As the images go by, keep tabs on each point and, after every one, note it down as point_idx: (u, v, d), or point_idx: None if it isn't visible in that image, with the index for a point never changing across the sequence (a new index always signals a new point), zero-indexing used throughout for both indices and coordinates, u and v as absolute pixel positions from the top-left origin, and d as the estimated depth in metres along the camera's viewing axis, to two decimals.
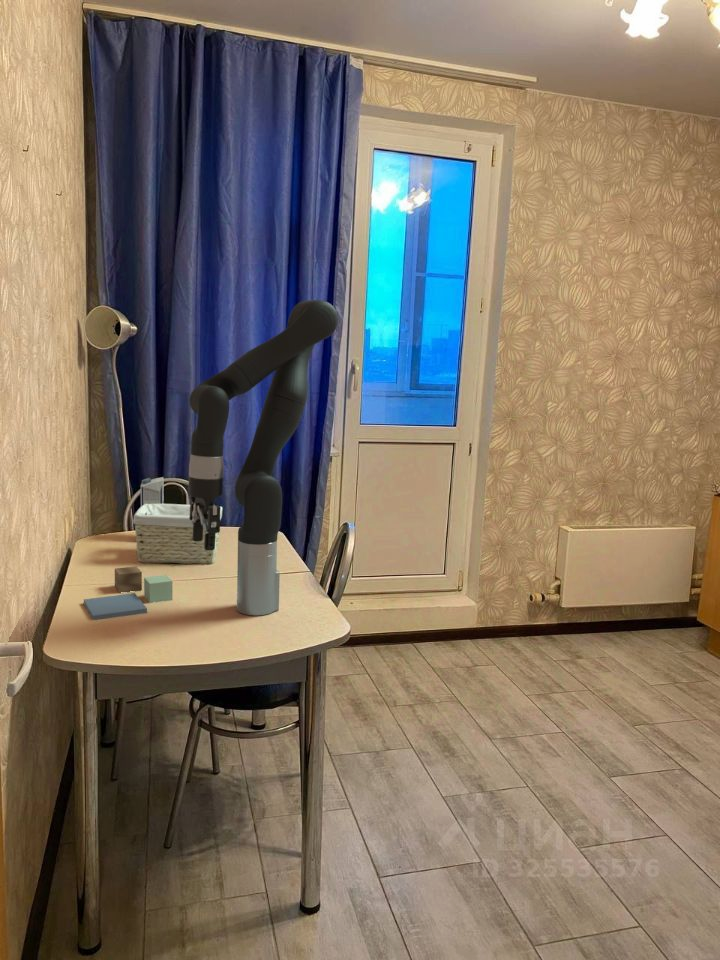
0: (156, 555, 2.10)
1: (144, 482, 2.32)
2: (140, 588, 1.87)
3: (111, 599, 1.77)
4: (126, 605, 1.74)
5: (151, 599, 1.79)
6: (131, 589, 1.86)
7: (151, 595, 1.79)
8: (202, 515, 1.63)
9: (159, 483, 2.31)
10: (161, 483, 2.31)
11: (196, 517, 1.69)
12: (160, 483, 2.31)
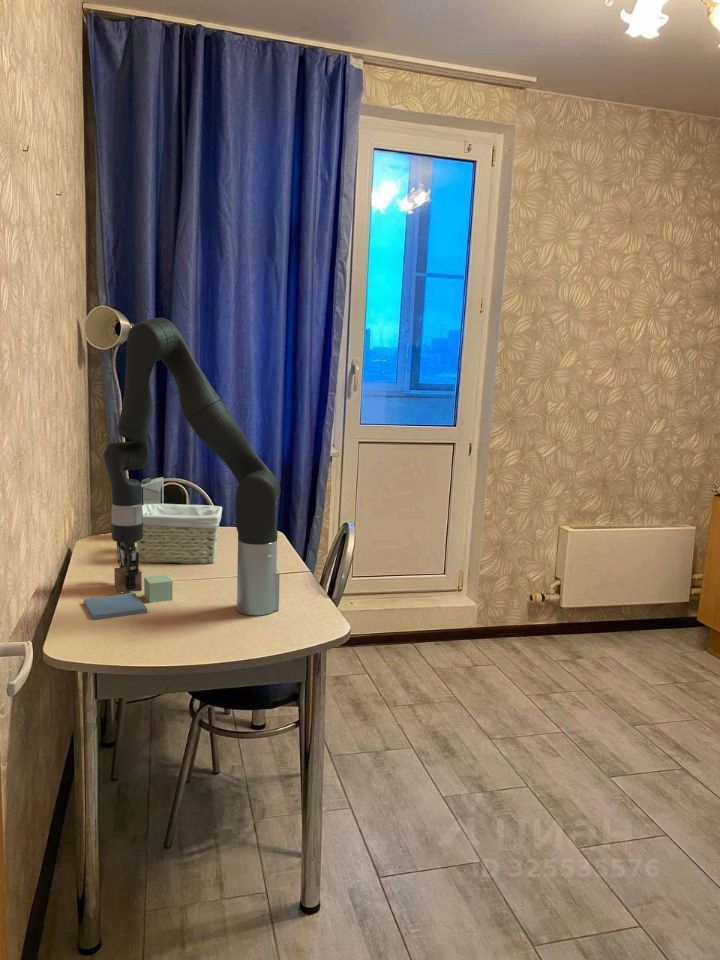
0: (157, 556, 2.10)
1: (144, 482, 2.32)
2: (140, 588, 1.87)
3: (111, 599, 1.77)
4: (126, 605, 1.74)
5: (151, 599, 1.79)
6: None
7: (151, 595, 1.79)
8: (124, 558, 1.84)
9: (159, 483, 2.31)
10: (161, 483, 2.31)
11: (122, 560, 1.89)
12: (160, 483, 2.31)
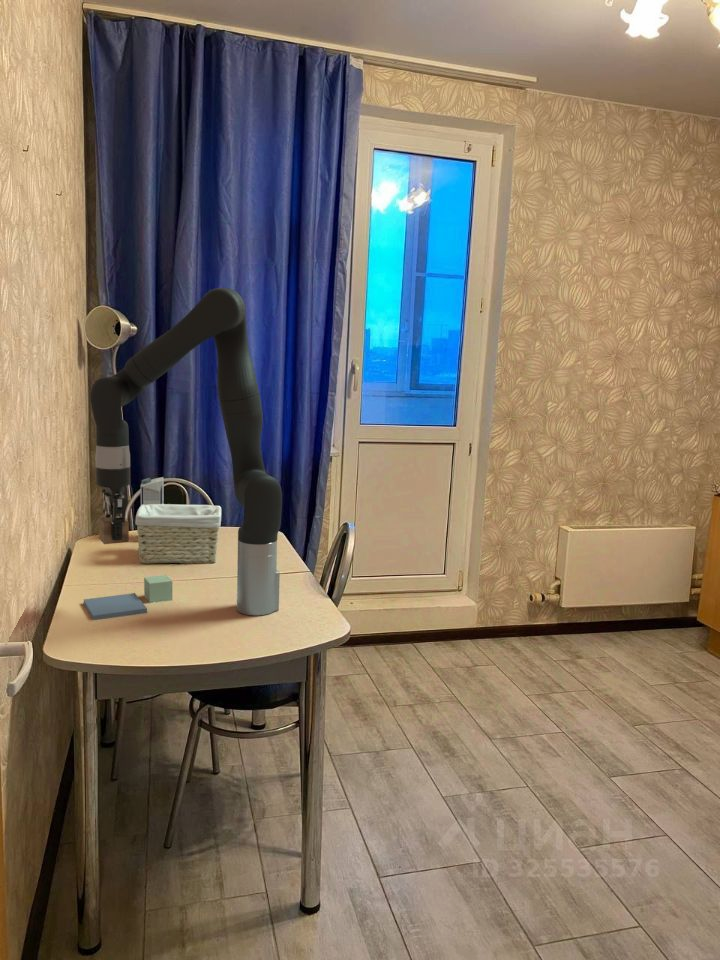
0: (159, 556, 2.10)
1: (144, 482, 2.32)
2: (127, 539, 1.70)
3: (111, 599, 1.77)
4: (126, 605, 1.74)
5: (151, 599, 1.79)
6: None
7: (151, 595, 1.79)
8: (109, 506, 1.67)
9: (159, 483, 2.31)
10: (161, 483, 2.31)
11: (107, 508, 1.72)
12: (160, 483, 2.31)
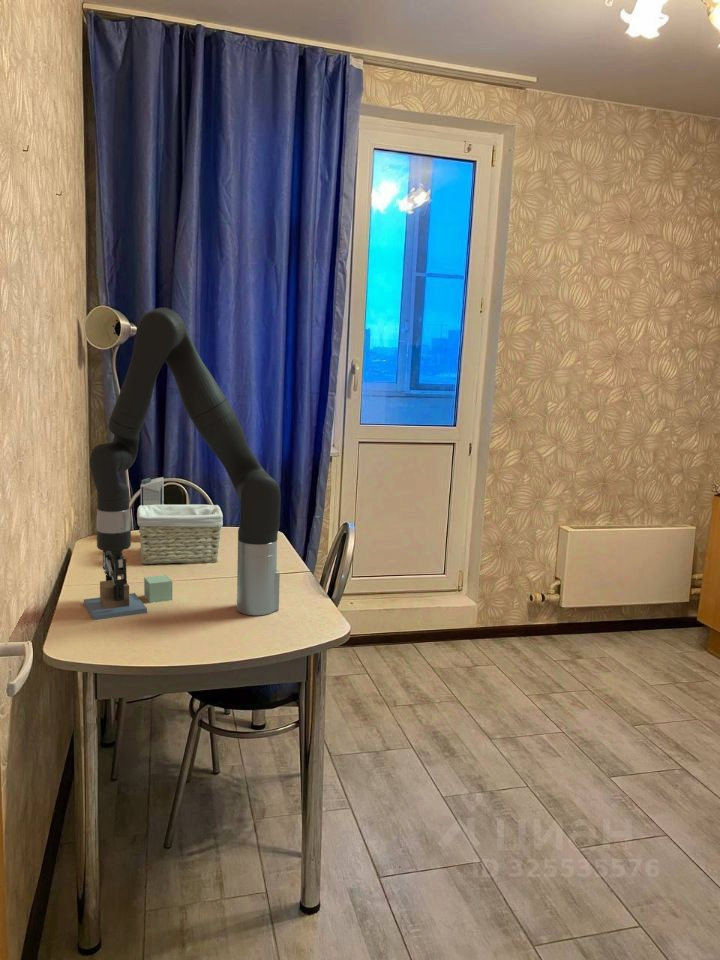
0: (161, 556, 2.09)
1: (144, 482, 2.32)
2: (127, 603, 1.73)
3: None
4: None
5: (151, 599, 1.79)
6: (118, 604, 1.72)
7: (151, 595, 1.79)
8: (110, 567, 1.69)
9: (159, 483, 2.31)
10: (161, 483, 2.31)
11: (107, 567, 1.75)
12: (160, 483, 2.31)
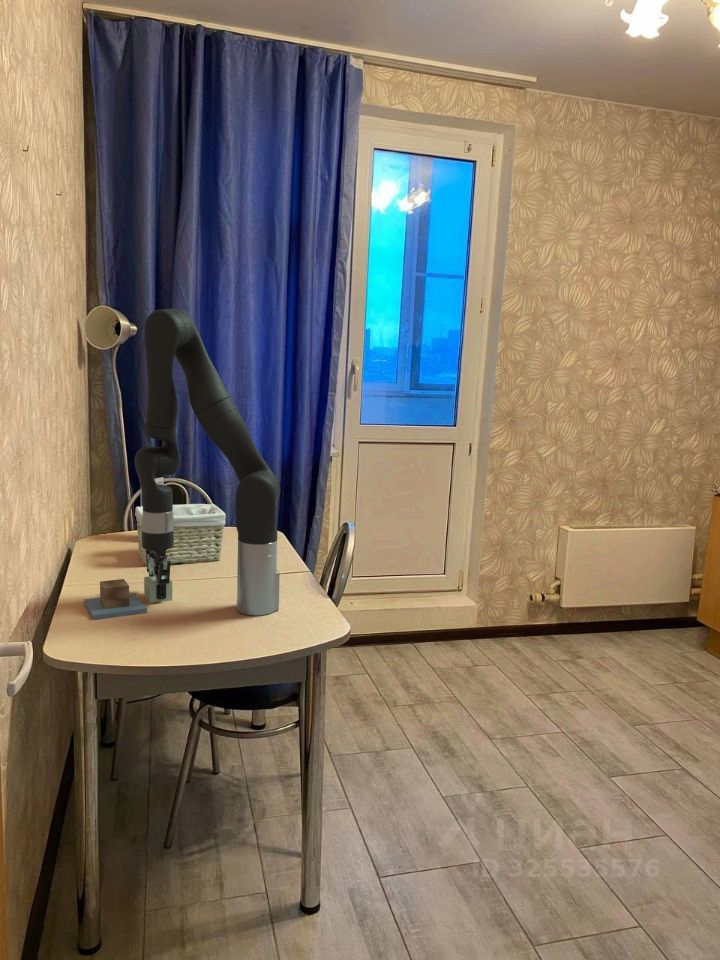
0: None
1: None
2: (127, 603, 1.73)
3: None
4: None
5: (151, 599, 1.79)
6: (118, 604, 1.72)
7: (151, 595, 1.78)
8: (154, 567, 1.78)
9: (159, 483, 2.31)
10: (161, 483, 2.31)
11: (152, 568, 1.82)
12: (160, 483, 2.31)
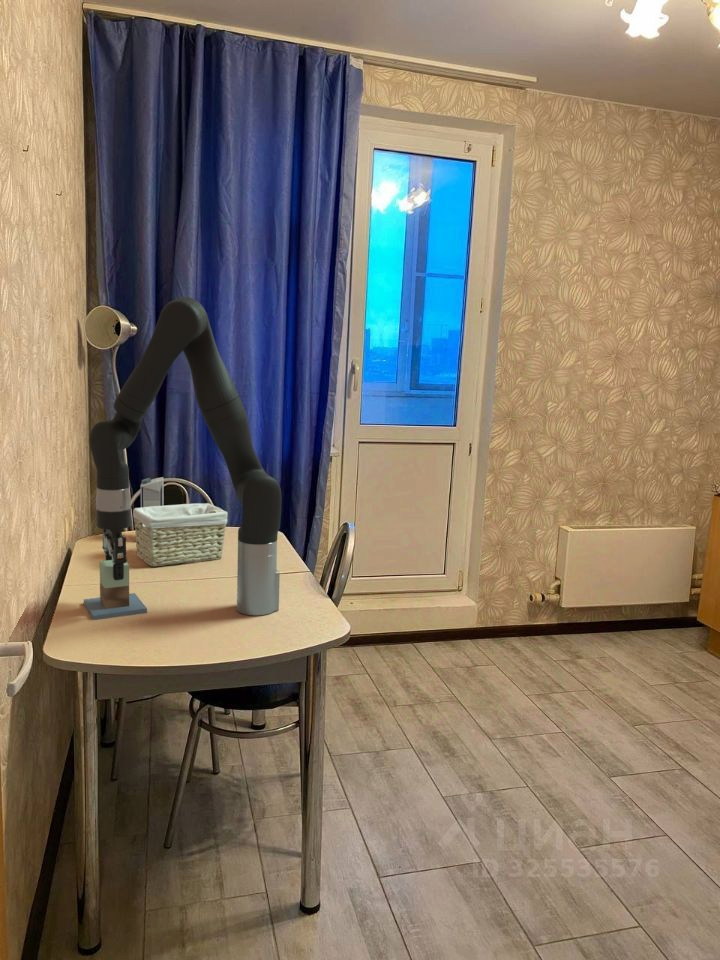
0: (171, 558, 2.09)
1: (144, 482, 2.32)
2: (127, 603, 1.73)
3: None
4: None
5: (106, 584, 1.70)
6: (118, 604, 1.72)
7: (106, 579, 1.69)
8: (110, 546, 1.68)
9: (159, 483, 2.31)
10: (161, 483, 2.31)
11: (107, 547, 1.74)
12: (160, 483, 2.31)
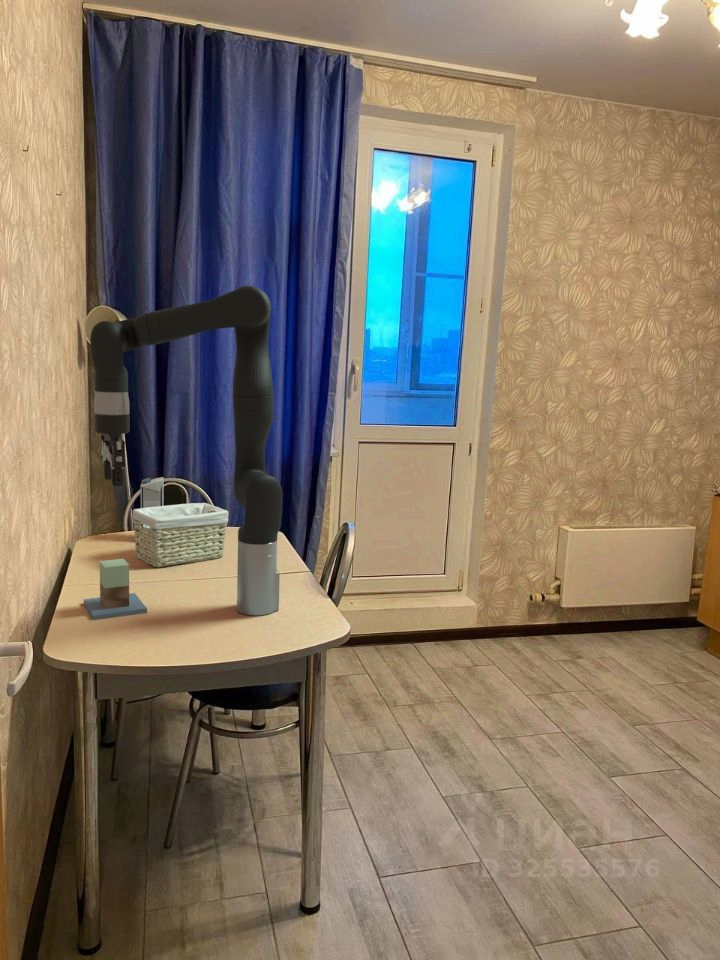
0: (175, 558, 2.09)
1: (144, 482, 2.32)
2: (127, 603, 1.73)
3: None
4: None
5: (106, 584, 1.70)
6: (118, 604, 1.72)
7: (106, 579, 1.69)
8: (108, 451, 1.65)
9: (159, 483, 2.31)
10: (161, 483, 2.31)
11: (106, 455, 1.70)
12: (160, 483, 2.31)
